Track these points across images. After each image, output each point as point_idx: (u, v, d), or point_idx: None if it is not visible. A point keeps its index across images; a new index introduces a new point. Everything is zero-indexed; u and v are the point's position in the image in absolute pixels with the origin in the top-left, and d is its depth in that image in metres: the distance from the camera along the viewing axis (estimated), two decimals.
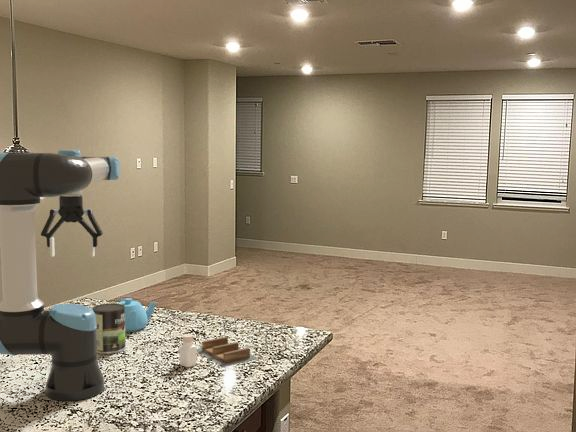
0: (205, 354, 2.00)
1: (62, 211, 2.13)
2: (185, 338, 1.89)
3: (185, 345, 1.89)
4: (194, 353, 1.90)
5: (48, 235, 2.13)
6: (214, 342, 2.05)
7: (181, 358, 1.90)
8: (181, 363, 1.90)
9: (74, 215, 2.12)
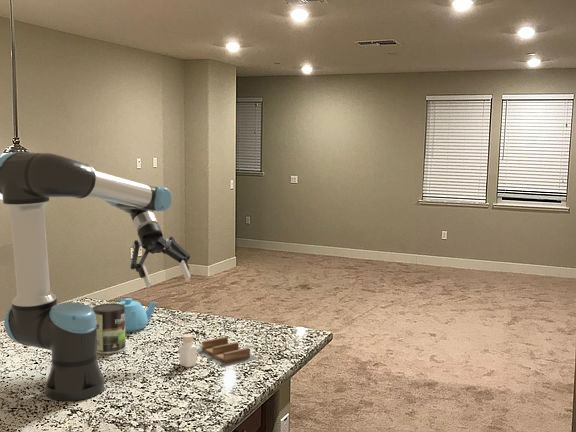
0: (205, 354, 2.00)
1: (146, 241, 2.03)
2: (185, 338, 1.89)
3: (185, 345, 1.89)
4: (194, 353, 1.90)
5: (140, 263, 1.96)
6: (214, 342, 2.05)
7: (181, 358, 1.90)
8: (181, 363, 1.90)
9: (160, 241, 2.04)
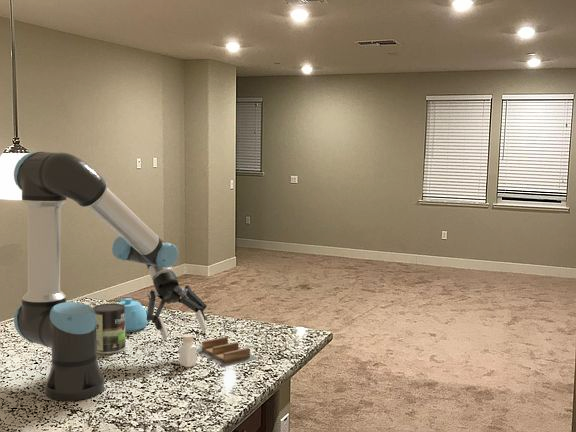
0: (205, 354, 2.00)
1: (162, 290, 1.99)
2: (185, 338, 1.89)
3: (185, 345, 1.89)
4: (194, 353, 1.90)
5: (157, 315, 1.92)
6: (214, 342, 2.05)
7: (181, 358, 1.90)
8: (181, 363, 1.90)
9: (176, 290, 2.01)
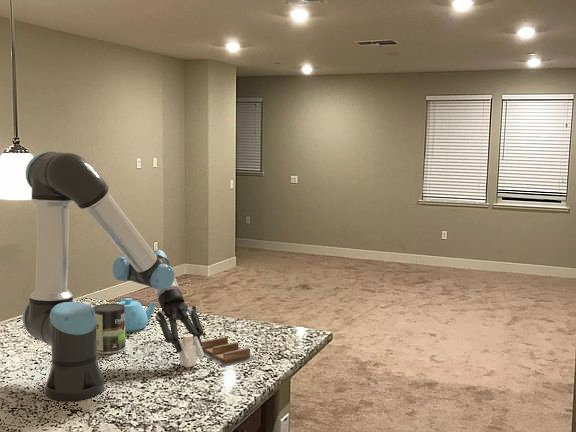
0: (205, 354, 2.00)
1: (167, 307, 1.94)
2: (185, 338, 1.89)
3: (185, 345, 1.89)
4: (194, 353, 1.90)
5: (176, 337, 1.88)
6: (214, 342, 2.05)
7: (181, 358, 1.90)
8: (181, 363, 1.90)
9: (181, 308, 1.95)
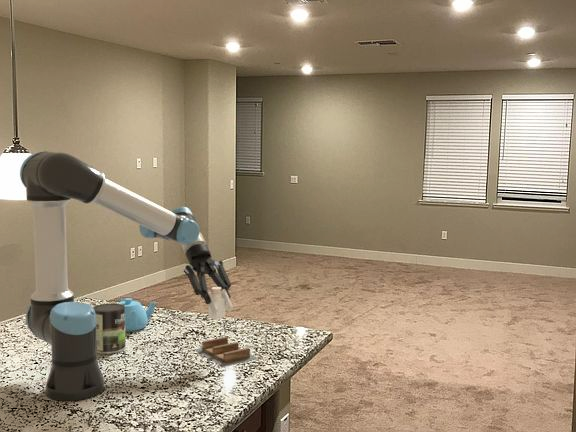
0: (205, 354, 2.00)
1: (195, 261, 1.97)
2: (214, 290, 1.92)
3: (214, 297, 1.92)
4: (223, 305, 1.93)
5: (205, 289, 1.92)
6: (214, 342, 2.05)
7: (210, 310, 1.93)
8: (210, 315, 1.93)
9: (209, 262, 1.98)
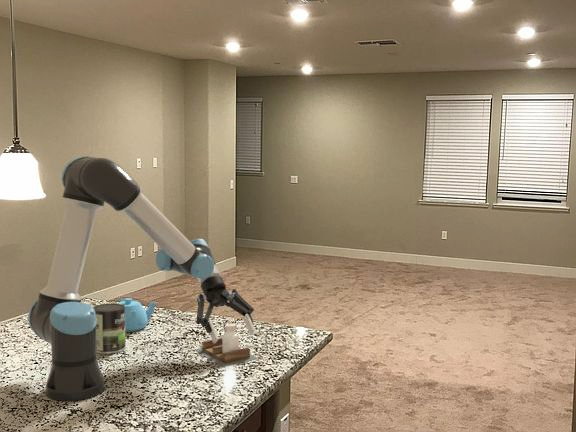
0: (205, 354, 2.00)
1: (211, 294, 2.00)
2: (228, 327, 1.95)
3: (228, 334, 1.96)
4: (237, 342, 1.97)
5: (206, 318, 1.93)
6: None
7: (224, 346, 1.96)
8: (224, 351, 1.97)
9: (224, 294, 2.02)
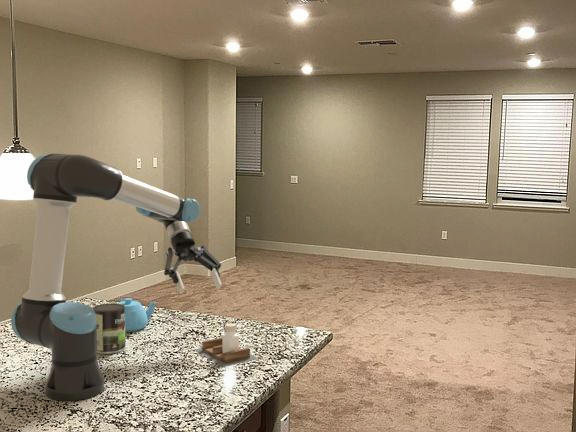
0: (205, 354, 2.00)
1: (179, 248, 2.08)
2: (228, 327, 1.95)
3: (228, 334, 1.96)
4: (237, 342, 1.97)
5: (174, 269, 2.01)
6: (214, 342, 2.05)
7: (224, 346, 1.96)
8: (224, 351, 1.97)
9: (193, 249, 2.10)
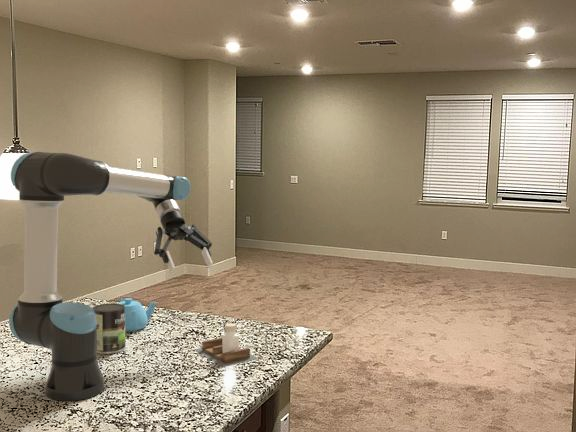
0: (205, 354, 2.00)
1: (169, 227, 2.06)
2: (228, 327, 1.95)
3: (228, 334, 1.96)
4: (237, 342, 1.97)
5: (164, 249, 1.99)
6: (214, 342, 2.05)
7: (224, 346, 1.96)
8: (224, 351, 1.97)
9: (183, 228, 2.07)
